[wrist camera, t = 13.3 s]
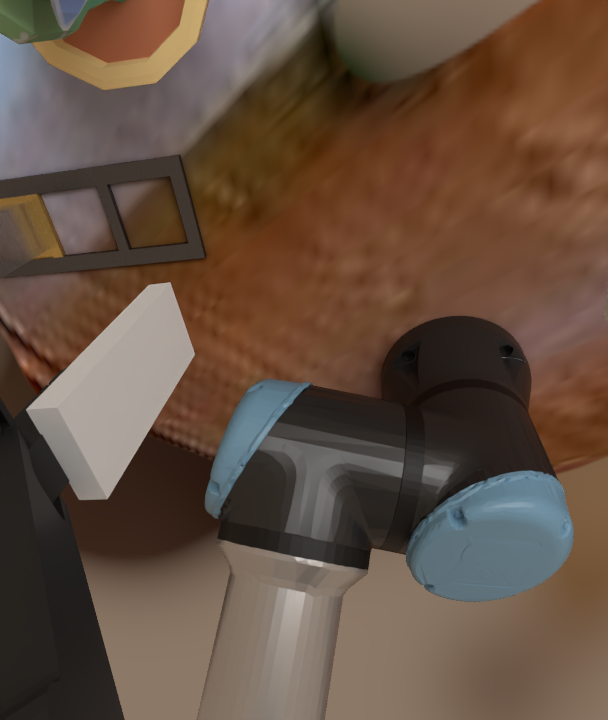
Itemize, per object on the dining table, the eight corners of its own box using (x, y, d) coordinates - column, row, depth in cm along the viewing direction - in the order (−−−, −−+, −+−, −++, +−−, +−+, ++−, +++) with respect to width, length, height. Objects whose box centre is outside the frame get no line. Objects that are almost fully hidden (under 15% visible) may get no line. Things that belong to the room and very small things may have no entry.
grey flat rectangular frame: (206, 255, 49) (205, 257, 48) (0, 276, 53) (-3, 278, 53) (180, 154, 44) (178, 155, 43) (-46, 186, 48) (-49, 188, 48)
